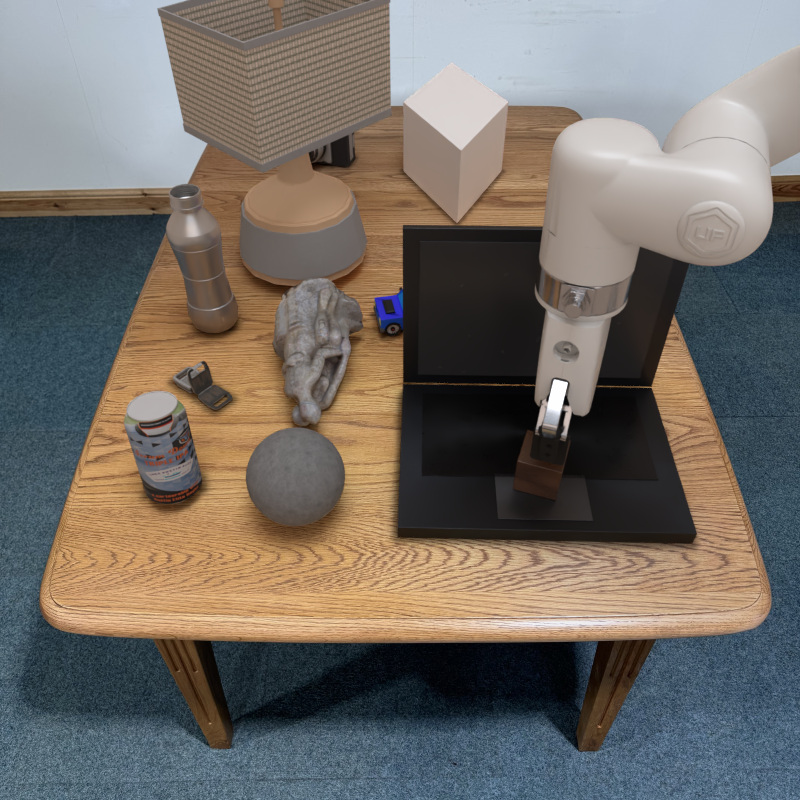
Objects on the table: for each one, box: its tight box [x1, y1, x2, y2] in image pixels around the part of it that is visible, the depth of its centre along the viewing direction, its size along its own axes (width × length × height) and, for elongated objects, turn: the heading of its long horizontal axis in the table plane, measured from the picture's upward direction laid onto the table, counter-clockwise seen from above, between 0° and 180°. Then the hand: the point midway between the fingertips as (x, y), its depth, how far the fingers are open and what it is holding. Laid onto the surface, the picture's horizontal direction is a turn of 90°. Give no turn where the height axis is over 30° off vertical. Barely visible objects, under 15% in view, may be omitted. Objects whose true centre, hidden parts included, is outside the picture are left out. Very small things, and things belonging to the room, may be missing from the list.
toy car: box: [373, 286, 403, 337], centre depth 97 cm, size 7×12×5 cm, turn 101°
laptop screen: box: [402, 224, 691, 388], centre depth 81 cm, size 21×30×1 cm
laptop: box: [397, 383, 698, 545], centre depth 81 cm, size 21×30×2 cm
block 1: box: [402, 61, 509, 224], centre depth 125 cm, size 18×35×12 cm, turn 179°
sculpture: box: [272, 278, 365, 427], centre depth 88 cm, size 11×18×12 cm
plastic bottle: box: [165, 183, 239, 334], centre depth 92 cm, size 6×7×20 cm
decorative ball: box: [245, 426, 346, 527], centre depth 74 cm, size 10×10×10 cm
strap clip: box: [172, 360, 233, 411], centre depth 88 cm, size 8×3×4 cm, turn 51°
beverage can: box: [123, 390, 203, 505], centre depth 75 cm, size 6×7×12 cm
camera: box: [309, 132, 356, 168], centre depth 128 cm, size 14×8×10 cm, turn 73°
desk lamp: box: [156, 0, 393, 287], centre depth 97 cm, size 22×19×37 cm
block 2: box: [513, 430, 571, 500], centre depth 76 cm, size 5×5×5 cm
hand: (557, 423), depth 71 cm, fingers open, 9 cm apart
